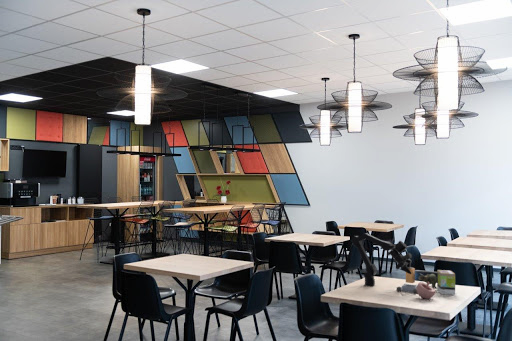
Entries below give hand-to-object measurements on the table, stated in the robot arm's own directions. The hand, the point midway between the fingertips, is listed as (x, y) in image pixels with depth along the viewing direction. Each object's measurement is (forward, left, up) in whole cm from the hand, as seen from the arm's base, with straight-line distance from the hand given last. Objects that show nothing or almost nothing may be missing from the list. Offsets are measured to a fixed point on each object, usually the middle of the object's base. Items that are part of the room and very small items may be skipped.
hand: (412, 273), depth 343 cm
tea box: (+22, +8, -13) cm, 27 cm away
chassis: (-1, 0, -13) cm, 13 cm away
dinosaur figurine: (+10, +20, -13) cm, 26 cm away
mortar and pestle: (+14, -20, -13) cm, 27 cm away
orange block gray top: (-1, 0, -7) cm, 7 cm away
